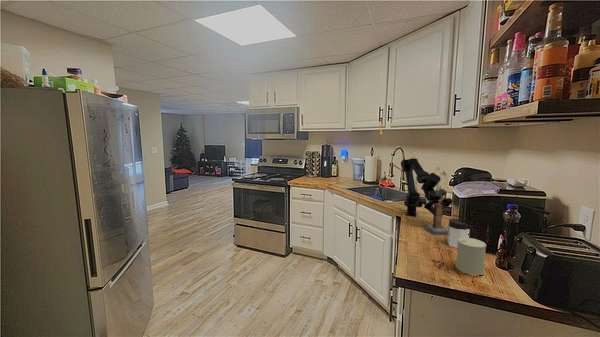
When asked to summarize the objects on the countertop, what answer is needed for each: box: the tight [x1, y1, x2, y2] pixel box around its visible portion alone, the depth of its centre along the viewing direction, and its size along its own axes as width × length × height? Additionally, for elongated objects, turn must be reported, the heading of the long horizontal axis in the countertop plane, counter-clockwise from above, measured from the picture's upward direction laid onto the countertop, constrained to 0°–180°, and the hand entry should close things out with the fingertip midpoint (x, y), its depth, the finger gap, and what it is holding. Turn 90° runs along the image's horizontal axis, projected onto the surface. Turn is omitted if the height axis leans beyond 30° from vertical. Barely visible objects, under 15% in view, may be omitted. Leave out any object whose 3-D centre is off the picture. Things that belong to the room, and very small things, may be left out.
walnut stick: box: [432, 203, 443, 228], centre depth 137 cm, size 3×3×13 cm
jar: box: [447, 218, 470, 249], centre depth 119 cm, size 9×8×12 cm
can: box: [455, 237, 487, 276], centre depth 96 cm, size 9×9×12 cm
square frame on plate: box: [423, 223, 448, 236], centre depth 137 cm, size 10×10×3 cm
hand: (439, 216), depth 135 cm, fingers open, 3 cm apart
